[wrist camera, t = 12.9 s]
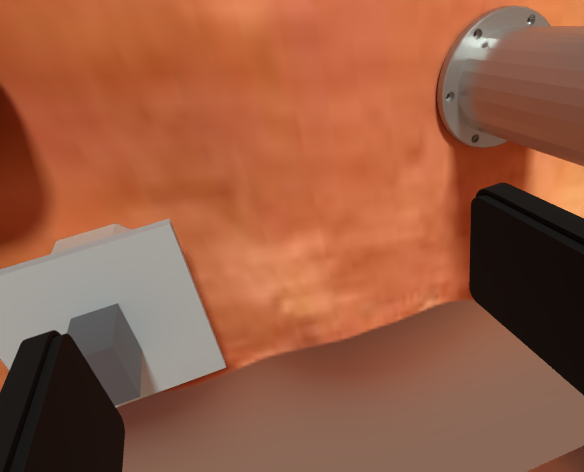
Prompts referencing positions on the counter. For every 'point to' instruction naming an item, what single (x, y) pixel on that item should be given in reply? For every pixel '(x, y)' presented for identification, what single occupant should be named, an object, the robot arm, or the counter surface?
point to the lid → (116, 311)
